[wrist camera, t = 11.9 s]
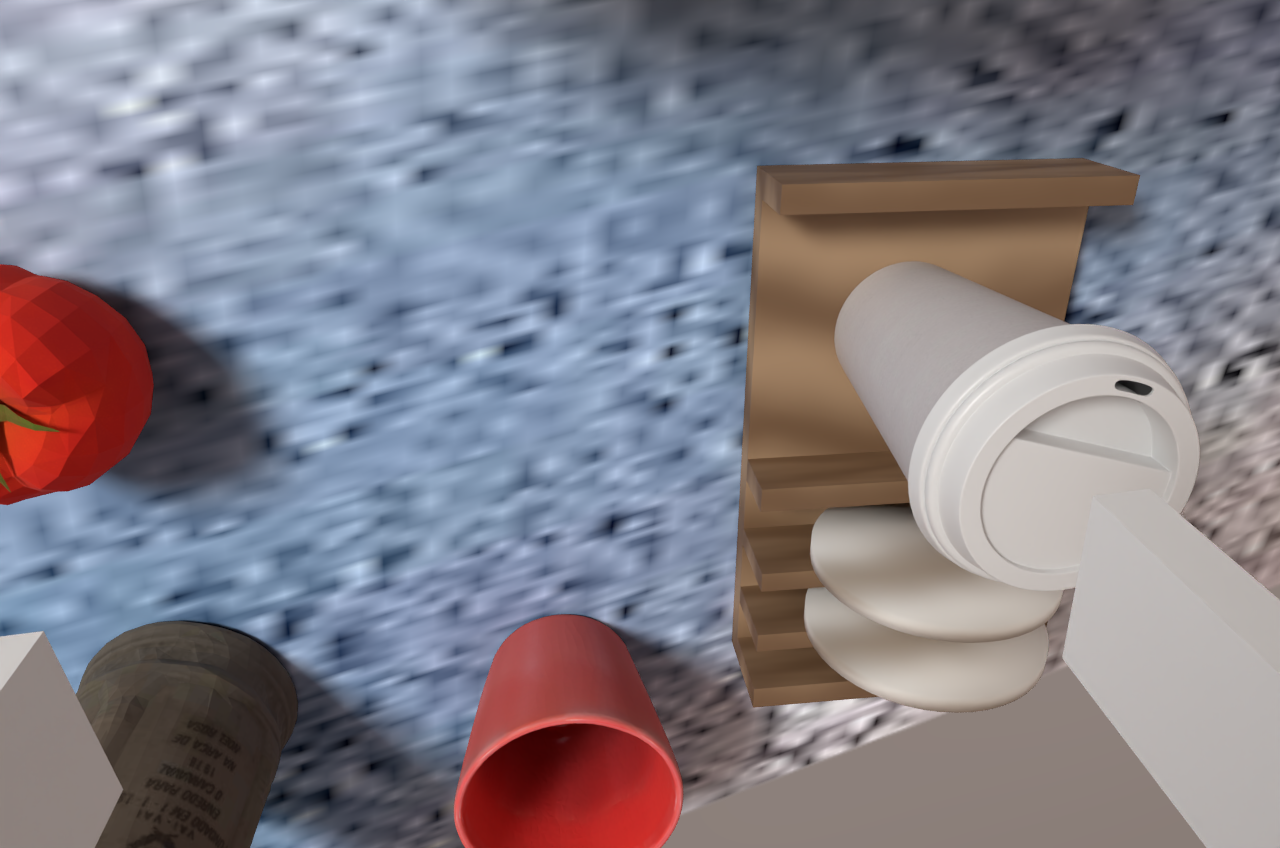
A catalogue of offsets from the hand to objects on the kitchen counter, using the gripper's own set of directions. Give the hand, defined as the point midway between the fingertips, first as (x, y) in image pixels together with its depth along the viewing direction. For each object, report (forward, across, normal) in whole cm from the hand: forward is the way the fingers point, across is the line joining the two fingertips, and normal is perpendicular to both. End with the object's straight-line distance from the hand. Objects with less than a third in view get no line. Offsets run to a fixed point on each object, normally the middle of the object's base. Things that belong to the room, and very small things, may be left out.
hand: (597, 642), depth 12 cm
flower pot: (+29, -3, -27) cm, 40 cm away
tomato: (+30, -22, -5) cm, 37 cm away
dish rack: (+29, +15, -14) cm, 36 cm away
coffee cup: (+29, +15, -9) cm, 34 cm away
